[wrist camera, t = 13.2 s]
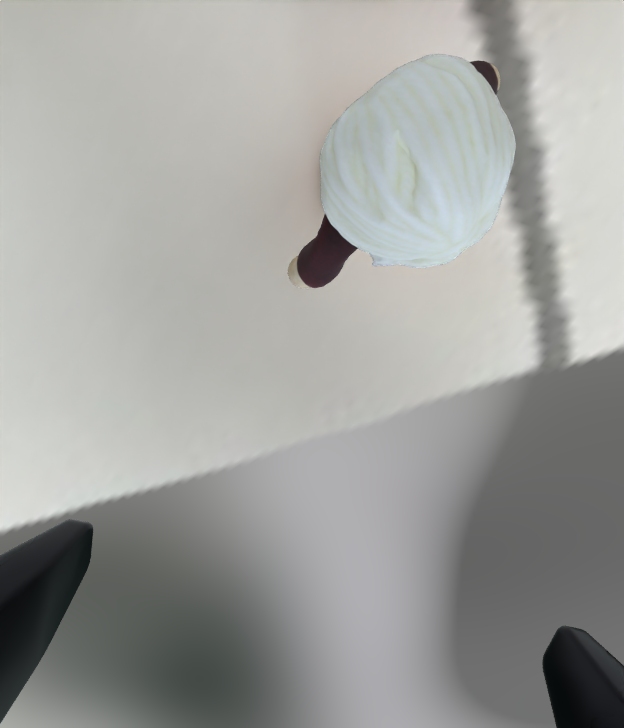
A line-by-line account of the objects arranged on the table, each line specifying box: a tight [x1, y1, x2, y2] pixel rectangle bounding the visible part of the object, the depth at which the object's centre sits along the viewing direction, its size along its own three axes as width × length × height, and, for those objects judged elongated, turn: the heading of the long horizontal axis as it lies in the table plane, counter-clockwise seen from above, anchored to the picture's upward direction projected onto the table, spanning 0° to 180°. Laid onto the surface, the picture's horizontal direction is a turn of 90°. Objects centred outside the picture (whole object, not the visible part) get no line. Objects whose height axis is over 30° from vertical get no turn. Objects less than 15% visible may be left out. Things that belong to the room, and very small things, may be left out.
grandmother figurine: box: [288, 54, 516, 289], centre depth 13 cm, size 8×4×13 cm, turn 148°
